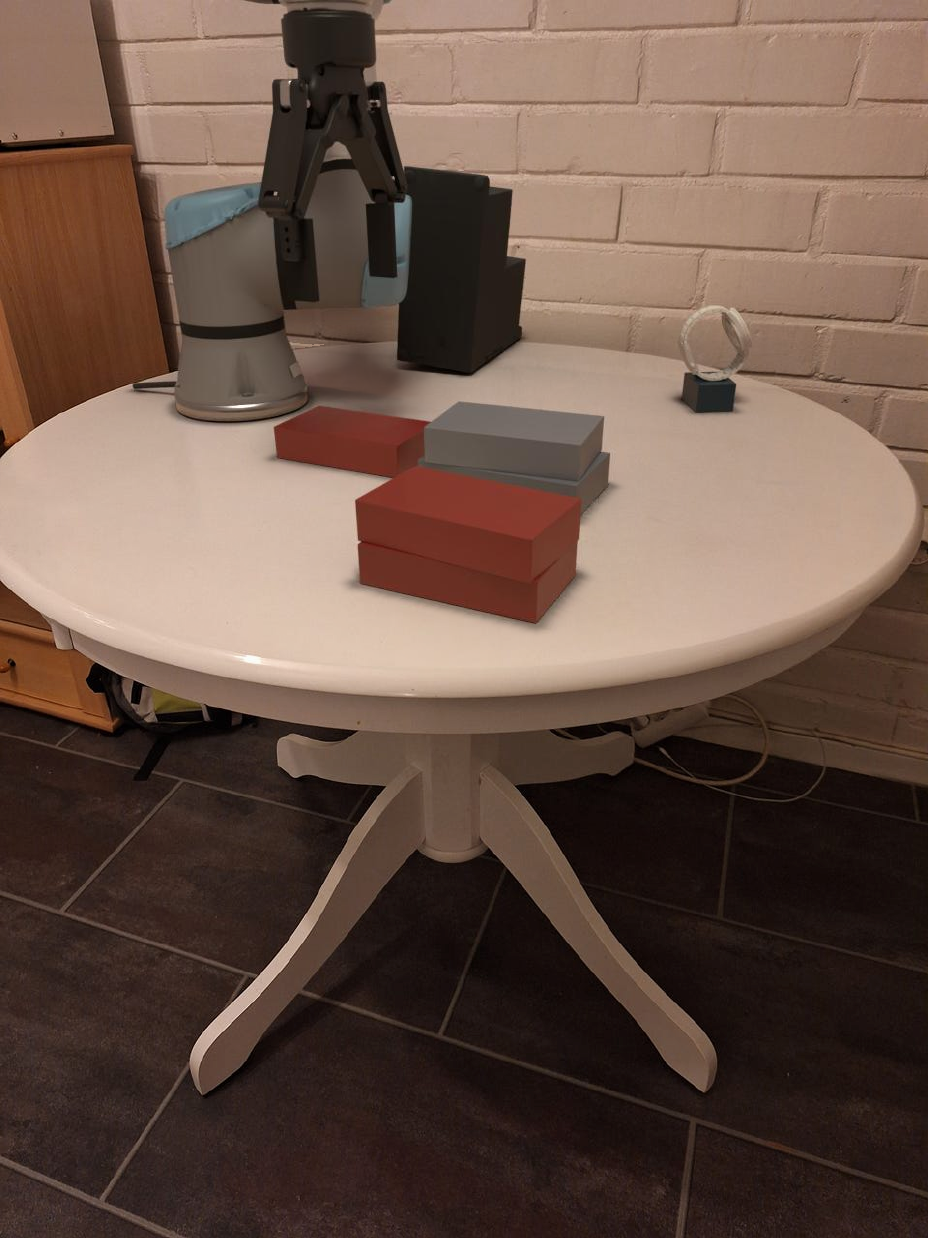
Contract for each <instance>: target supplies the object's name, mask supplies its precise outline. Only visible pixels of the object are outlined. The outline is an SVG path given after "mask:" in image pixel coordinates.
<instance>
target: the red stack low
mask: <svg viewBox="0 0 928 1238" xmlns="http://www.w3.org/2000/svg"><path fill="white" fill-rule="evenodd" d="M578 541H579V540H578ZM578 541H577V542H576V543H575V544H574V545H572V546H571V547H570V548H569V549H568V550H567V551H566V552H565V553H564V554H563V555H561V556H560V557H559V558H558V559H557V560H556V561H555V562H554V563H553V564H552V565H551V566H549V567H548V568H547V569H546V570H545V571H544V572H543V573H542V574H541V575H540V576H538V577H537V578H536V579H535V580H534V581H533V582H532V583H526V582H522V581H518V580H514V579H510V578H506V577H502V576H498V575H494V574H490V573H486V572H482V571H478V570H474V569H470V568H466V567H462V566H458V565H454V564H450V563H446V562H442V561H438V560H434V559H430V558H425V557H421V556H417V555H413V554H409V553H405V552H401V551H397V550H393V549H389V548H385V547H381V546H377V545H373V544H369V543H365V542H361V541H359V543H357V558H358V571H359V573H358V574H359V584H361V585H365V586H370V587H374V588H379V589H384V590H388V591H393V592H397V593H401V594H405V595H411V596H414V597H418V598H423V599H428V600H432V601H435V602H441V603H444V604H450V605H454V606H459V607H463V608H467V609H472V610H476V611H480V612H484V613H489V614H493V615H498V616H503V617H507V618H512V619H515V620H519V621H520V620H521V621H525V622H529V623H533V624H537V623H538V622H539V620H540V619H541V618H542V617H543V615H544V614H545V613H546V612H547V610H548V609H550V607H551V606H552V604H553V603H554V602H555V601H556V600H557V599H558V597H559V596H560V595H561V593H562V592H563V591H564V590H565V589H566V588H567V587H568V585H569V584H570V582H571V581H573V579H574V578H575V577H576V575H577V559H578V544H579V542H578Z"/></svg>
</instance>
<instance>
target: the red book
mask: <svg viewBox="0 0 928 1238" xmlns="http://www.w3.org/2000/svg"><path fill="white" fill-rule="evenodd" d="M430 422H431V421H429V420H423V419H416V418H408V417H401V416H394V415H388V414H387V415H386V414H380V413H372V412H366V411H358V410H354V409H353V410H352V409H345V408H338V407H331V406H323V405H316V406H315V407H313V408H310V409H308V410H307V411H304V412H302V413H300V414H298V415H296V416H294V417H292V418H290V419H287V420H285V421H283V422H281V423H279V424H276V425H274V426H273V433H274V434H273V435H274V443H275V451H276V458H279V459H284V460H290V461H295V462H302V463H307V464H313V465H319V466H324V467H329V468H337V469H342V470H347V471H354V472H358V473H359V472H360V473H365V474H371V475H377V476H382V477H389V478H392V479H393V478H395V477H396V476H398V475H400V474H402V473H403V472H405V471H407V470H409V469H411V468H412V467H414V466H418V460H419V459H420V458H422V457H423V456H425V446H424V427H425V426H426V425H428V424H429V423H430Z"/></svg>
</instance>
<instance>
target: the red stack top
mask: <svg viewBox="0 0 928 1238" xmlns="http://www.w3.org/2000/svg"><path fill="white" fill-rule="evenodd" d="M581 500H582V499H581V498H576V497H571V496H566V495H560V494H555V493H550V492H545V491H540V490H535V489H530V488H525V487H520V486H515V485H510V484H505V483H500V482H495V481H490V480H485V479H480V478H474V477H469V476H464V475H459V474H454V473H449V472H444V471H439V470H434V469H429V468H424V467H419V466H414V467H412V468H411V469H409V470H407V471H405V472H403V473H402V474H400V475H398V476H396V477H395V478H393V477H392V478H391V479H389V480H388V481H385V482H384V483H382V484H381V485H379V486H376V487H375V488H374V489H371V490H370V491H368V492H366V493H364V494H363V495H361V496H359V497H357V498H356V499H355V500H354V507H355V520H356V521H355V523H356V534H357V535H356V537H357V541H358V542H365V543H369V544H373V545H377V546H381V547H385V548H389V549H393V550H397V551H401V552H405V553H409V554H413V555H417V556H421V557H425V558H430V559H434V560H438V561H442V562H446V563H450V564H454V565H458V566H462V567H466V568H470V569H474V570H478V571H482V572H486V573H490V574H494V575H498V576H502V577H506V578H510V579H514V580H518V581H522V582H526V583H532V582H533V581H534V580H535V579H536V578H537V577H538V576H540V575H541V574H542V573H543V572H544V571H545V570H546V569H547V568H548V567H549V566H551V565H552V564H553V563H554V562H555V561H556V560H557V559H558V558H559V557H560V556H561V555H563V554H564V553H565V552H566V551H567V550H568V549H569V548H570V547H571V546H572V545H574V544H575V543H576V542H577V541H579V540H580V532H581V515H582V514H581Z"/></svg>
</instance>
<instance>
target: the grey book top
mask: <svg viewBox="0 0 928 1238" xmlns="http://www.w3.org/2000/svg"><path fill="white" fill-rule="evenodd" d="M604 425H605V416H604V415H597V414H588V413H587V414H586V413H577V412H567V411H559V410H558V411H557V410H549V409H548V410H547V409H539V408H529V407H528V408H527V407H518V406H509V405H499V404H489V403H479V402H469V401H461V400H459V401H457V402H456V403H454V404H453V405H452V406H451V407H449V408H447V409H446V410H445V411H444V412H442V413H441V414H440V415H438V416H437V417H436V418H435V419H433V420H432V421H430V423H429V424H428V425H426V426H425V427H424V446H425V462H428V463H436V464H444V465H452V466H460V467H468V468H476V469H484V470H492V471H499V472H507V473H515V474H523V475H531V476H539V477H547V478H555V479H563V480H571V481H579V480H580V479H581V478H582V476H583V475H584V473H585V472H586V471H587V469H588V468H589V467H590V465H591V464H592V463H593V461H594V460H595V459H596V457H597V456H598V455H599V453H600V452H603V441H604V428H605V427H604Z"/></svg>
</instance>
